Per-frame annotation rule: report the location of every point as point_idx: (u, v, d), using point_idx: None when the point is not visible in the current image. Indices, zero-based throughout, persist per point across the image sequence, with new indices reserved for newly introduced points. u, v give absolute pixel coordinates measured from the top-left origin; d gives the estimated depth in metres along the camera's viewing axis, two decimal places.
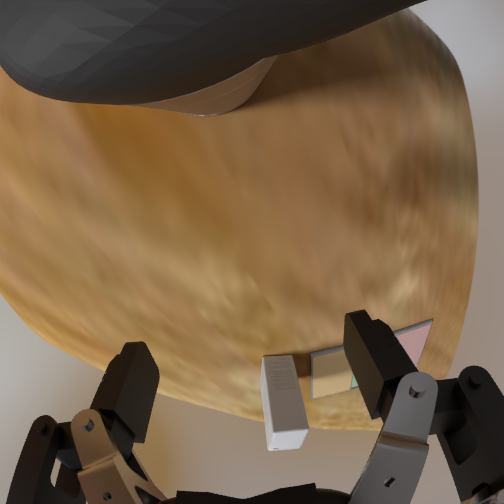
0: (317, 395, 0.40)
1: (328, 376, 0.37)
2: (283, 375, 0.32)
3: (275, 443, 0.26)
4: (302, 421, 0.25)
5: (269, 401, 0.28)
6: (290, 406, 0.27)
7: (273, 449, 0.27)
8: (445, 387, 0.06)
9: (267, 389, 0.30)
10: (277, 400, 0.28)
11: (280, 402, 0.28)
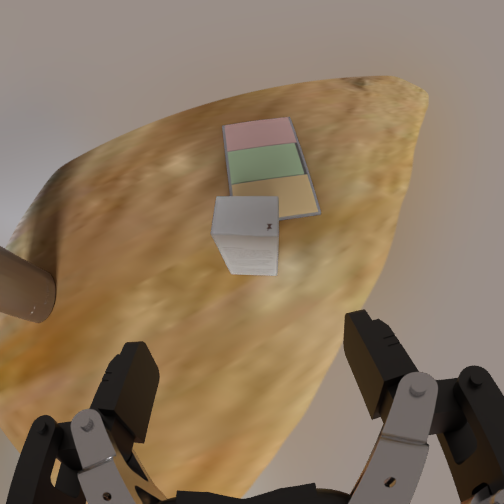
0: (312, 207, 0.37)
1: None
2: None
3: (246, 228, 0.24)
4: None
5: (220, 251, 0.28)
6: None
7: (272, 229, 0.24)
8: (445, 387, 0.06)
9: (223, 258, 0.30)
10: None
11: None
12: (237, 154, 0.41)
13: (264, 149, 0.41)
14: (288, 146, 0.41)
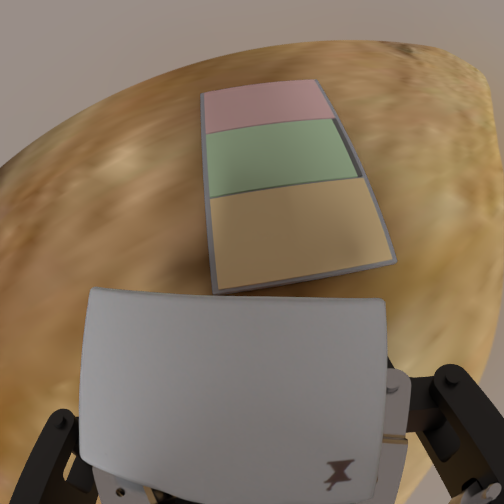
0: (380, 250, 0.16)
1: (301, 238, 0.17)
2: None
3: (224, 479, 0.03)
4: None
5: None
6: None
7: (353, 483, 0.03)
8: (421, 385, 0.06)
9: None
10: None
11: None
12: (224, 138, 0.21)
13: (276, 128, 0.21)
14: (321, 124, 0.21)
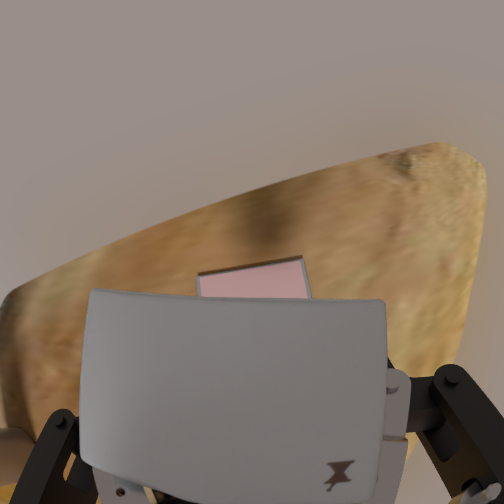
0: None
1: None
2: None
3: (224, 480, 0.03)
4: None
5: None
6: None
7: (353, 483, 0.03)
8: (421, 385, 0.06)
9: None
10: None
11: None
12: None
13: None
14: None
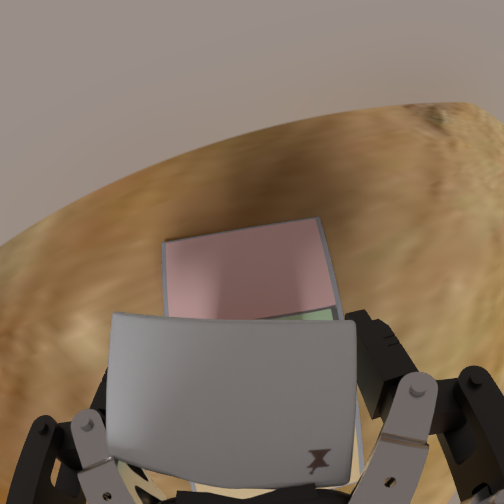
0: None
1: None
2: None
3: (227, 464, 0.05)
4: None
5: None
6: None
7: (331, 468, 0.04)
8: (445, 387, 0.06)
9: None
10: None
11: None
12: None
13: None
14: None
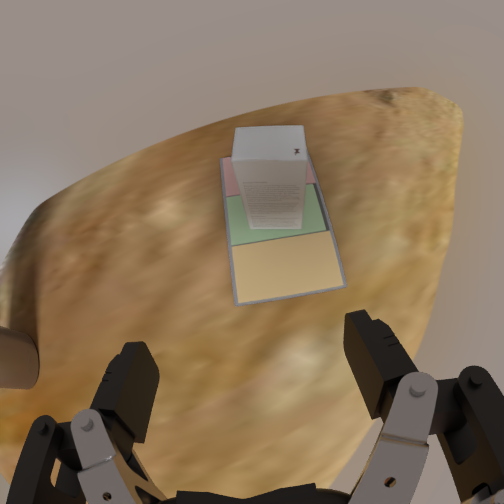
0: (336, 279, 0.28)
1: (286, 272, 0.29)
2: None
3: (271, 153, 0.20)
4: None
5: (239, 191, 0.24)
6: None
7: (301, 153, 0.20)
8: (445, 387, 0.06)
9: (243, 202, 0.26)
10: None
11: None
12: (239, 201, 0.33)
13: None
14: None
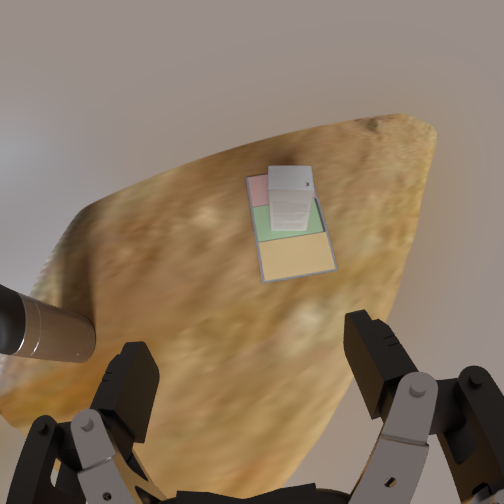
0: (330, 265, 0.42)
1: (297, 260, 0.43)
2: None
3: (292, 185, 0.34)
4: None
5: (269, 206, 0.38)
6: None
7: (310, 186, 0.34)
8: (445, 387, 0.06)
9: (270, 213, 0.40)
10: None
11: None
12: (262, 210, 0.47)
13: None
14: None
